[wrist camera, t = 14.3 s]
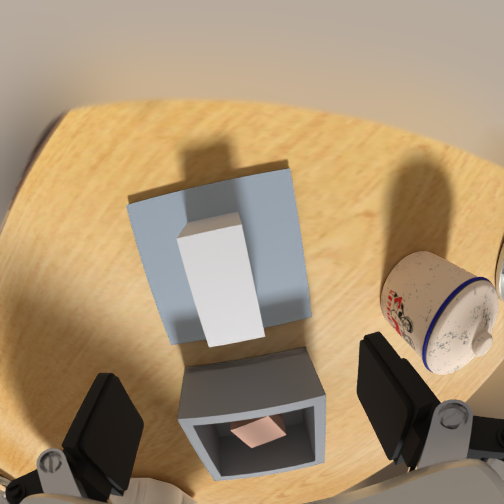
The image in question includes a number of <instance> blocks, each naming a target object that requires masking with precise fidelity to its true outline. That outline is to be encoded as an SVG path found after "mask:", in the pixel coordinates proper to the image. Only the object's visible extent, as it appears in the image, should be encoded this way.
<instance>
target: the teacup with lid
mask: <svg viewBox="0 0 504 504" xmlns="http://www.w3.org/2000/svg"><path fill="white" fill-rule="evenodd" d="M381 309H382V313H383V316H384V318H385V319H386V321H387V322H388V323H389V324H390V325H391V326H392V327H393V328H394V329H395V330H396V331H397V332H398V333H399V334H400V336H401V337H402V338H403V339H404V340H405V341H406V342H407V343H408V344H409V345H410V346H411V347H412V348H413V349H414V351H415V352H416V353H417V354H418V355H419V356H420V357H421V358H422V359H423V363H424V365H425V367H426V368H427V369H428V370H429V371H431V372H433V373H436V374H442V375H444V374H450V373H453V372H455V371H457V370H459V369H460V368H462V367H464V366H465V365H466V364H467V363H469V362H470V361H471V360H472V359H473V358H474V357H475V356H478V357H479V356H483V355H484V354H486V352H487V351H488V350H489V349H490V347H491V345H492V340H493V339H492V335H491V332H492V329H493V327H494V324H495V321H496V318H497V313H498V295H497V292H496V289H495V287H494V286H493V284H492V283H491V282H490V281H489V280H488V279H486V278H484V277H477V276H475V275H473V274H471V273H470V272H468V271H466V270H464V269H462V268H460V267H458V266H457V265H455V264H453V263H451V262H449V261H447V260H445V259H443V258H441V257H439V256H437V255H435V254H433V253H431V252H428V251H418V252H414V253H412V254H410V255H408V256H406V257H405V258H403V259H402V260H401V261H400V262H399V263H398V264H397V265H396V266H395V267H394V268H393V269H392V271H391V272H390V274H389V276H388V277H387V279H386V281H385V284H384V287H383V290H382V294H381Z"/></svg>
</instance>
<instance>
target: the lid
mask: <svg viewBox="0 0 504 504" xmlns="http://www.w3.org/2000/svg"><path fill="white" fill-rule="evenodd" d="M126 206H127V210H128V214H129V218H130V222H131V226H132V229H133V233H134V237H135V240H136V244H137V247H138V250H139V254H140V257H141V260H142V264H143V267H144V270H145V273H146V276H147V279H148V282H149V285H150V288H151V291H152V294H153V297H154V300H155V303H156V306H157V308H158V311H159V314H160V317H161V319H162V322H163V325H164V327H165V330H166V333H167V335H168V338H169V340H170V343H171V345H175V344H181V343H188V342H194V341H200V340H207V343H208V346H209V347H214V346H220V345H226V344H231V343H236V342H241V341H246V340H251V339H256V338H261V337H265V334H264V329H263V328H267V327H271V326H276V325H280V324H285V323H289V322H293V321H297V320H302V319H306V318H310V317H312V315H311V307H310V298H309V290H308V282H307V274H306V266H305V259H304V252H303V245H302V238H301V231H300V225H299V218H298V212H297V206H296V200H295V194H294V188H293V182H292V176H291V171H290V168H287V169H281V170H276V171H270V172H265V173H259V174H254V175H249V176H244V177H239V178H234V179H229V180H224V181H220V182H215V183H210V184H206V185H202V186H197V187H193V188H189V189H185V190H180V191H176V192H172V193H168V194H165V195H161V196H157V197H153V198H149V199H146V200H142V201H138V202H135V203H131V204H128V205H126Z"/></svg>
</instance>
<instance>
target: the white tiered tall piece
mask: <svg viewBox="0 0 504 504" xmlns="http://www.w3.org/2000/svg"><path fill="white" fill-rule="evenodd" d="M110 500H111V502H112V504H197V501H196V500H194V499H193V498H191V497H190V496H189V495H187V494H186V493H184V492H183V491H182V490H180V489H179V488H177V487H176V486H174V485H173V484H170V483H166V482H163V481H159V480H155V479H152V478H130V482H129V486H128V489H127V490H126V491H124V495H123V497H122V496H116V495H111V494H110Z"/></svg>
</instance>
